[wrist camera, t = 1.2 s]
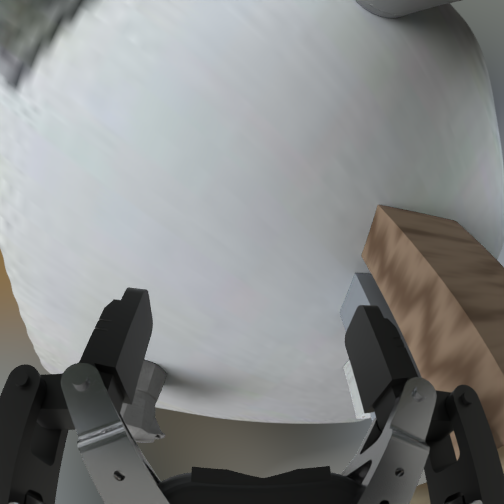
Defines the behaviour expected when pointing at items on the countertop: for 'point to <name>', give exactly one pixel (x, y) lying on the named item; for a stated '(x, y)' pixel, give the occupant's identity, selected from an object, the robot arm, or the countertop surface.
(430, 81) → the countertop surface
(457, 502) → the robot arm
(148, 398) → the coffeepot
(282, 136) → the countertop surface
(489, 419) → the walnut pedestal
